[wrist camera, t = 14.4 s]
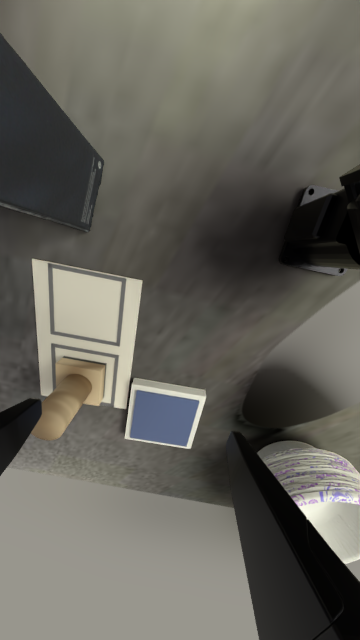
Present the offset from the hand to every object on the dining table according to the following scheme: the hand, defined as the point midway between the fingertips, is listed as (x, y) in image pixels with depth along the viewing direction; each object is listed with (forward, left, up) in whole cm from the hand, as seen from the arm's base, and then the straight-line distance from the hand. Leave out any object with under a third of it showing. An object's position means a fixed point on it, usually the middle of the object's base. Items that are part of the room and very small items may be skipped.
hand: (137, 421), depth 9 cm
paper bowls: (-21, +18, -13) cm, 30 cm away
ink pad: (-2, +12, -12) cm, 17 cm away
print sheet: (+8, +4, -12) cm, 16 cm away
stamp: (+8, +8, -12) cm, 17 cm away
